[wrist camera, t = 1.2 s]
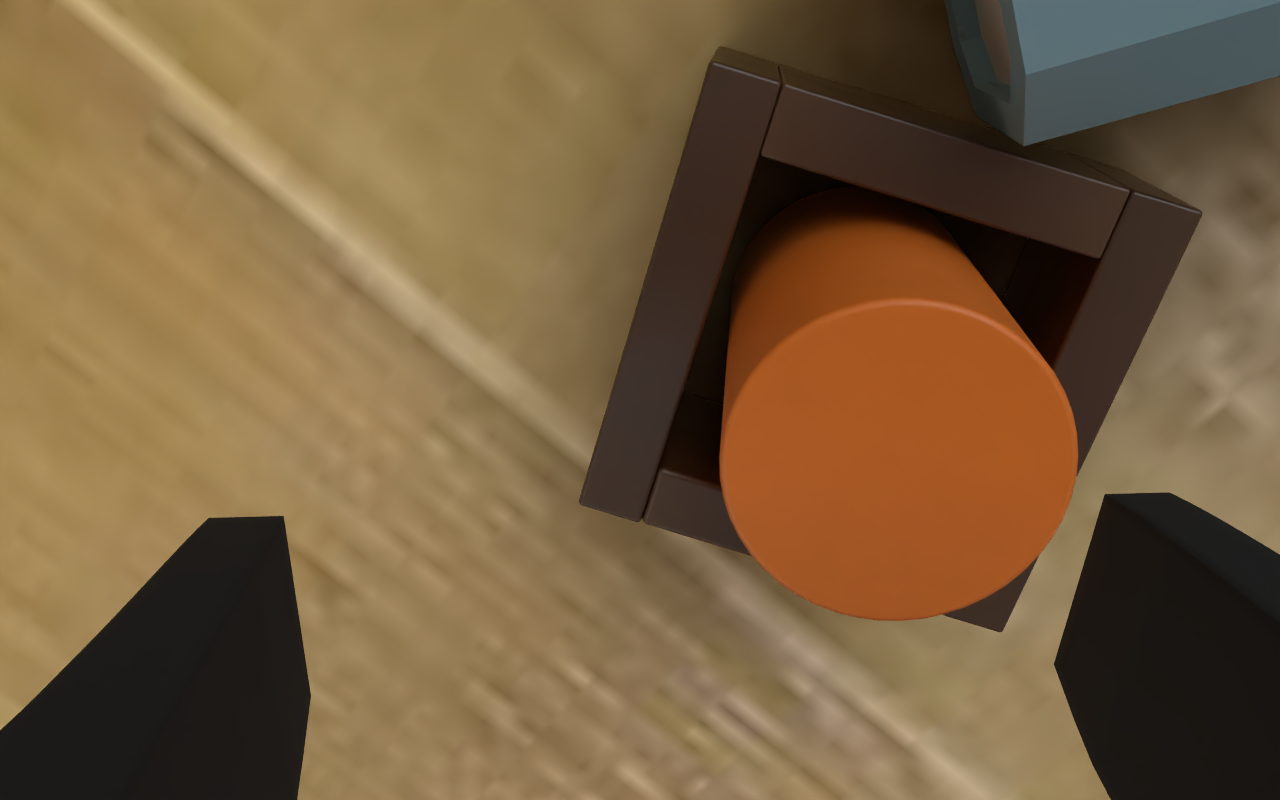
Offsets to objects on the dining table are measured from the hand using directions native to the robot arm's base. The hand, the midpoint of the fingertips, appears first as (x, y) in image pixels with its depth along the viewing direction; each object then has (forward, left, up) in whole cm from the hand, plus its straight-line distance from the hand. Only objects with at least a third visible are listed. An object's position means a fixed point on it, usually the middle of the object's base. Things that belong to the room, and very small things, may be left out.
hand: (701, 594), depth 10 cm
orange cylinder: (-2, -1, -10) cm, 10 cm away
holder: (-2, -1, -10) cm, 10 cm away
